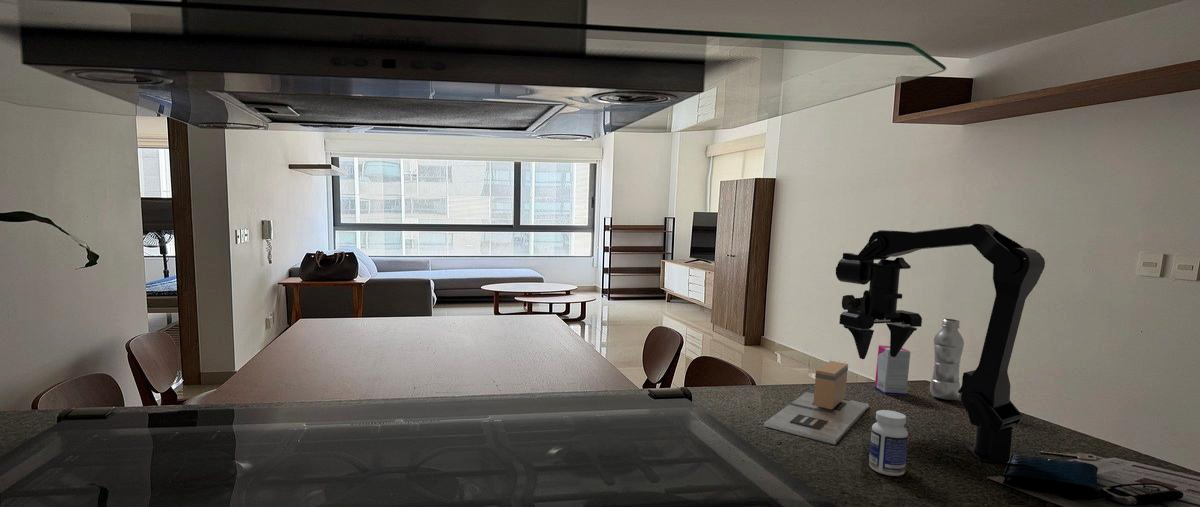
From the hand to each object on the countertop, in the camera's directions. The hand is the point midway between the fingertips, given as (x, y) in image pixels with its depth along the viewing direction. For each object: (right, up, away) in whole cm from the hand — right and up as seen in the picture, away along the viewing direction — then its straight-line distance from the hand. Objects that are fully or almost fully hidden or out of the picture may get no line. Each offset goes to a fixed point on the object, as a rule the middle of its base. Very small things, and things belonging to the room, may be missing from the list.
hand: (877, 357), depth 129 cm
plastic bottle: (+25, -14, +17) cm, 33 cm away
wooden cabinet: (-8, -11, +6) cm, 15 cm away
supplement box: (+13, -13, +21) cm, 28 cm away
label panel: (-13, -13, -1) cm, 18 cm away
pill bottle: (-11, -15, -27) cm, 33 cm away
